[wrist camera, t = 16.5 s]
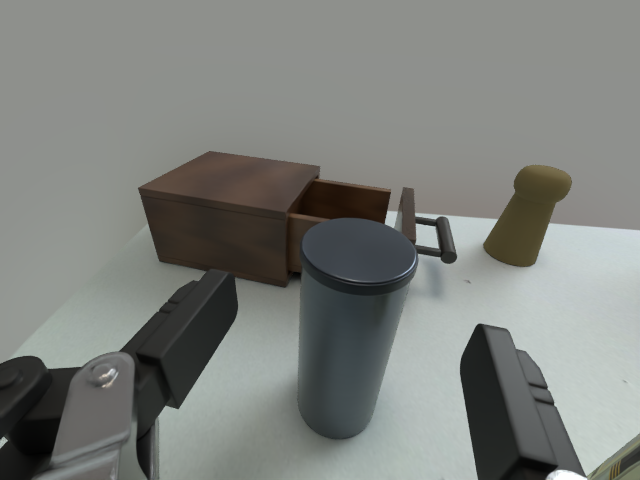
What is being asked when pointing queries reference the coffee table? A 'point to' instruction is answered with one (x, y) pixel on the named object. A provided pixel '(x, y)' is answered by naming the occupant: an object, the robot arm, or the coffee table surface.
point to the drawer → (361, 216)
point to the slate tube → (348, 319)
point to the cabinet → (227, 214)
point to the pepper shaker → (527, 215)
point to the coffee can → (620, 464)
